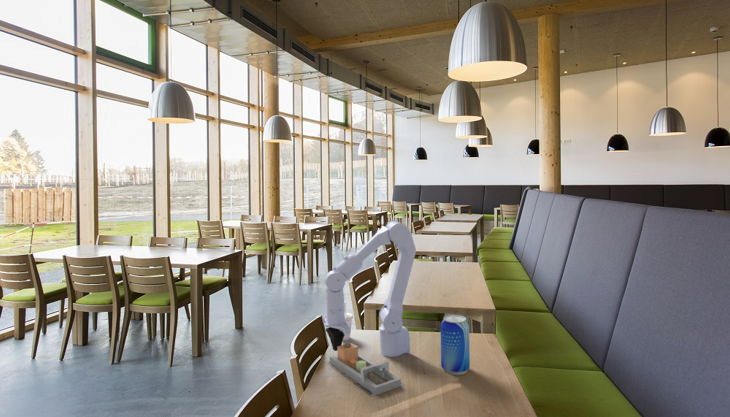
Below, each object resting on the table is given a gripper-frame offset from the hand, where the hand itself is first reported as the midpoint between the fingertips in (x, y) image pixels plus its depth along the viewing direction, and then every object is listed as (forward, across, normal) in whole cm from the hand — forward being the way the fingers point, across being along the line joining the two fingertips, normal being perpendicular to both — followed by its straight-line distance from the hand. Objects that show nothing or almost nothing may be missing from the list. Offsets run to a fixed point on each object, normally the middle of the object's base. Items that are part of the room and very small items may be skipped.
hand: (336, 349), depth 141 cm
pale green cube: (+2, +14, 0) cm, 15 cm away
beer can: (+4, +28, +25) cm, 38 cm away
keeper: (+2, +8, 0) cm, 8 cm away
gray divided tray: (+3, +15, 0) cm, 15 cm away
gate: (+3, +22, 0) cm, 22 cm away
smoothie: (+4, -12, +10) cm, 16 cm away
